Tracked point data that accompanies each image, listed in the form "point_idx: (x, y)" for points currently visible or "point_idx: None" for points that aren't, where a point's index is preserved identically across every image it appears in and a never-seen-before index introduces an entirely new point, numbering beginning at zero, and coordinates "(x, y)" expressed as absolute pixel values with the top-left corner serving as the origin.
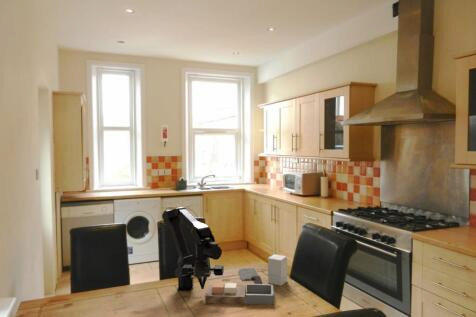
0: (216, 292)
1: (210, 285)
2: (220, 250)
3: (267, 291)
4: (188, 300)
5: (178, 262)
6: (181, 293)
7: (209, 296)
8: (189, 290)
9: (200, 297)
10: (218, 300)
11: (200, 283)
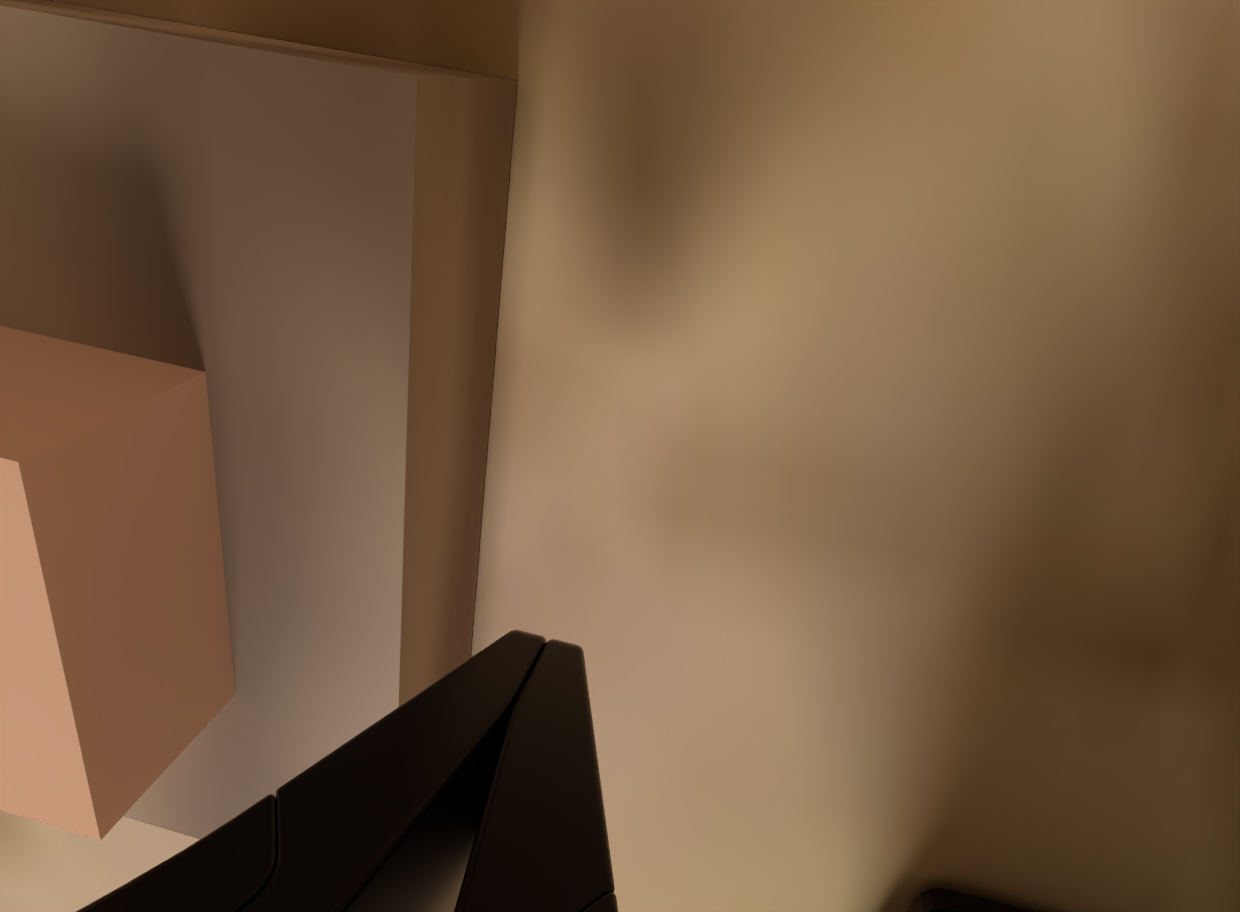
0: (44, 343)
1: None
2: None
3: None
4: (1084, 339)
5: None
6: (1215, 815)
7: (240, 45)
8: (959, 892)
9: (675, 485)
10: (33, 3)
11: (555, 822)
